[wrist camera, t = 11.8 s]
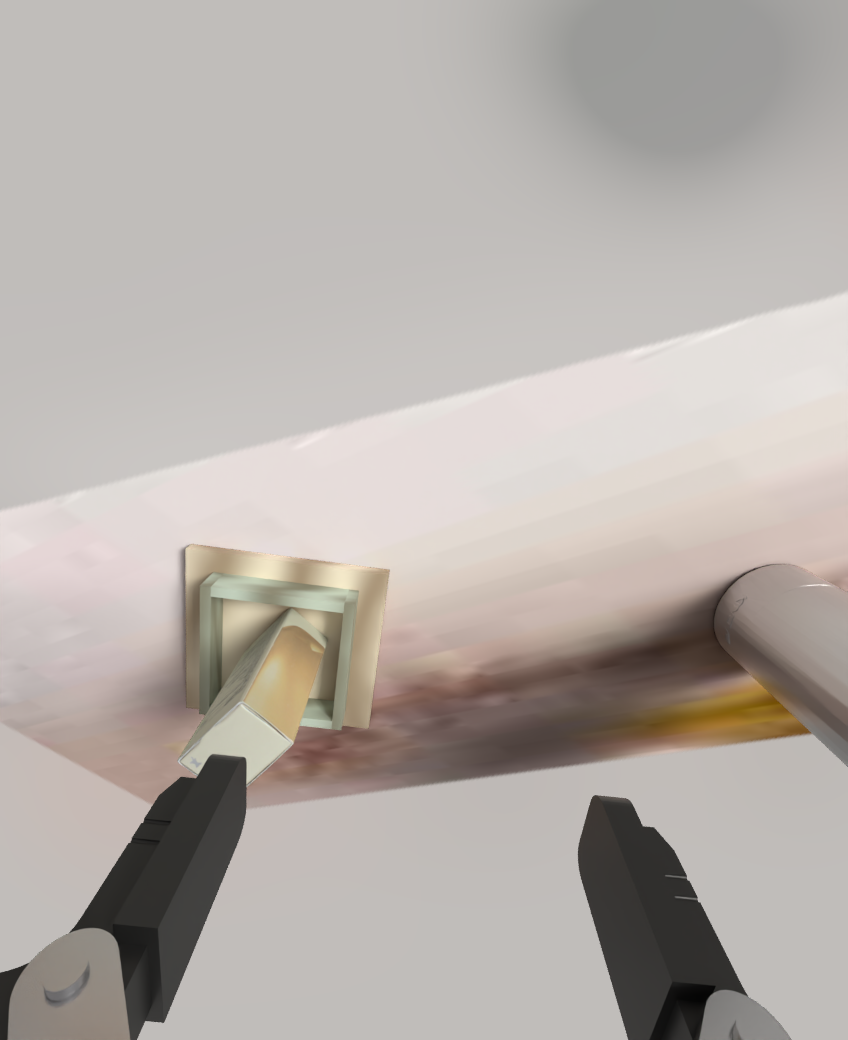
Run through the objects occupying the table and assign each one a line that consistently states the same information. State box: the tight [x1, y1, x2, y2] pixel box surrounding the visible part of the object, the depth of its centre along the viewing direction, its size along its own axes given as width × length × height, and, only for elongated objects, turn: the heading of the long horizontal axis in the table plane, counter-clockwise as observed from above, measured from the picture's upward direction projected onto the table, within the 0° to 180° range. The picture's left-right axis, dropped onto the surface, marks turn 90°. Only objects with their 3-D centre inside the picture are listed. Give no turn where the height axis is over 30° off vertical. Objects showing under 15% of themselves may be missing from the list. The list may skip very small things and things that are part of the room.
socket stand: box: [185, 544, 389, 730], centre depth 40 cm, size 16×15×4 cm
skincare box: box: [178, 608, 328, 787], centre depth 35 cm, size 6×4×12 cm
